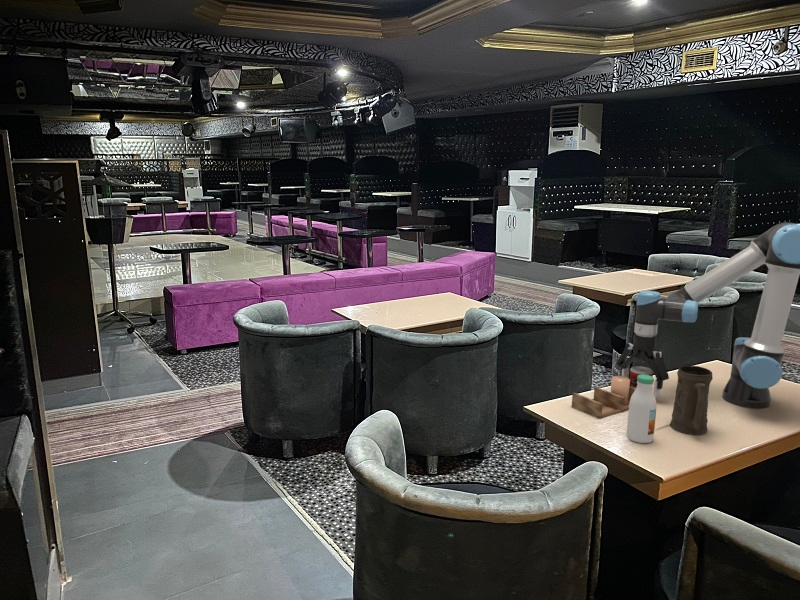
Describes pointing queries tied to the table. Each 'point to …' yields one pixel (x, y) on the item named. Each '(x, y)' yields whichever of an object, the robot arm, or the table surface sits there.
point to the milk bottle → (642, 411)
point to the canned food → (638, 371)
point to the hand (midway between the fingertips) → (639, 391)
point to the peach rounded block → (621, 387)
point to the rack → (601, 403)
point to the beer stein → (691, 400)
